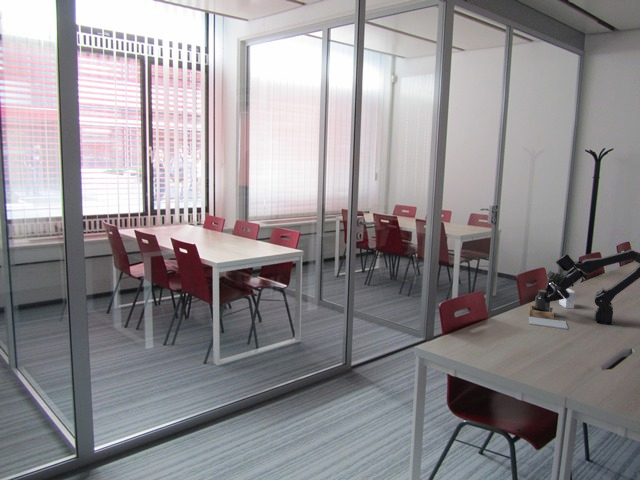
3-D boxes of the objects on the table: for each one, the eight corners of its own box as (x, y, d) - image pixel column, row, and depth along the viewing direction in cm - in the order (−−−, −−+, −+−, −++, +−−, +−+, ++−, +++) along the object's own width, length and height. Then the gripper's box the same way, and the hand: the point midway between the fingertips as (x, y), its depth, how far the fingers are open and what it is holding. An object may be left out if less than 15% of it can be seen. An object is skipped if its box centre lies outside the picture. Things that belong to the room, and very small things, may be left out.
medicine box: (573, 308, 261) (576, 292, 260) (565, 308, 261) (567, 291, 260) (566, 304, 269) (568, 288, 268) (558, 303, 269) (560, 287, 268)
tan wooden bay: (551, 313, 252) (552, 307, 251) (553, 319, 241) (554, 313, 241) (528, 310, 255) (529, 304, 255) (529, 316, 245) (530, 310, 244)
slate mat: (565, 322, 238) (565, 321, 238) (567, 329, 228) (568, 328, 228) (528, 317, 243) (528, 316, 243) (529, 324, 233) (529, 323, 233)
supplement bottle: (546, 313, 251) (548, 289, 249) (551, 317, 245) (553, 293, 243) (531, 312, 252) (534, 288, 250) (536, 316, 245) (538, 292, 243)
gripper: (553, 262, 253) (527, 282, 256) (565, 270, 234) (537, 291, 238) (568, 278, 253) (542, 298, 256) (581, 288, 235) (553, 309, 238)
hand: (543, 299), depth 247 cm, fingers open, 9 cm apart
